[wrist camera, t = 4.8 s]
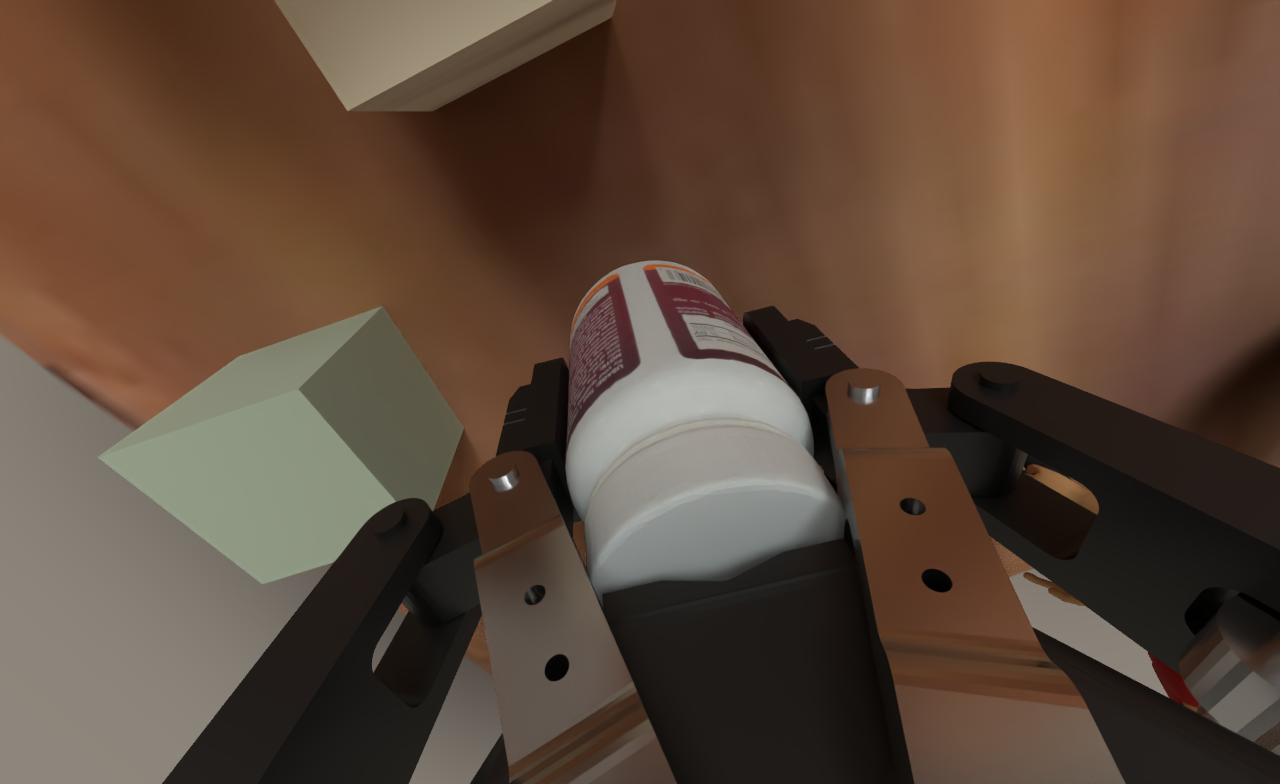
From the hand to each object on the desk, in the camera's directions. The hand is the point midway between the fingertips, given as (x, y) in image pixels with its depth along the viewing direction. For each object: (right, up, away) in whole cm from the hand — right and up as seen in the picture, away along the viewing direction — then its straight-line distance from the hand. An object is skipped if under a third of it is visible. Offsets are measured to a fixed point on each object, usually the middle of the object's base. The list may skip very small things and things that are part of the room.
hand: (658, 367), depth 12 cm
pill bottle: (0, +1, +2) cm, 2 cm away
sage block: (-10, -1, +3) cm, 11 cm away
